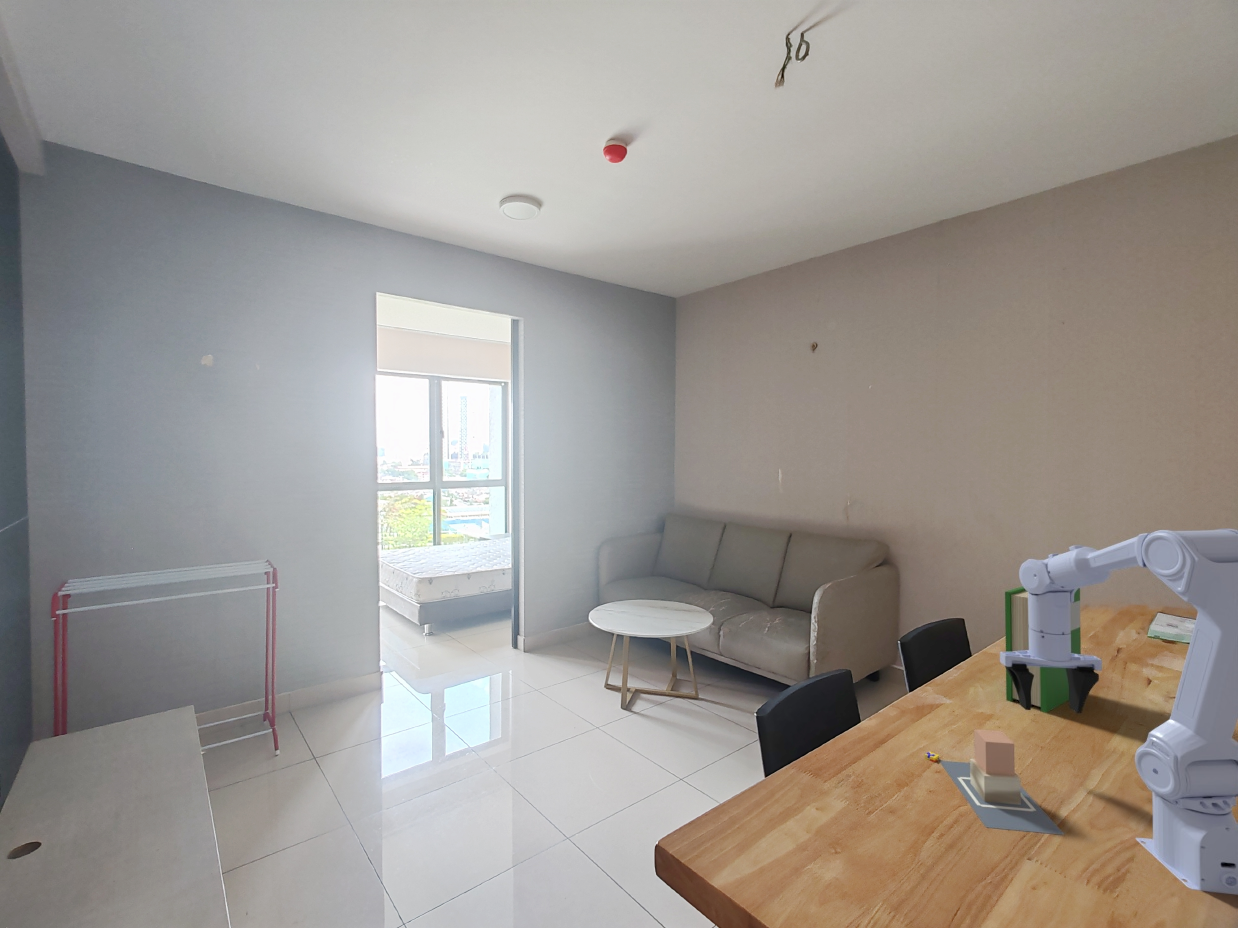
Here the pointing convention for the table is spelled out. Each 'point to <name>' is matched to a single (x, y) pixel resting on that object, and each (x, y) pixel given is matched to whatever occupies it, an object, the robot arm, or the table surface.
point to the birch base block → (995, 785)
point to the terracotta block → (994, 752)
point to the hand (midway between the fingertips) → (1050, 708)
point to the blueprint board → (1001, 806)
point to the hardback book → (1047, 680)
